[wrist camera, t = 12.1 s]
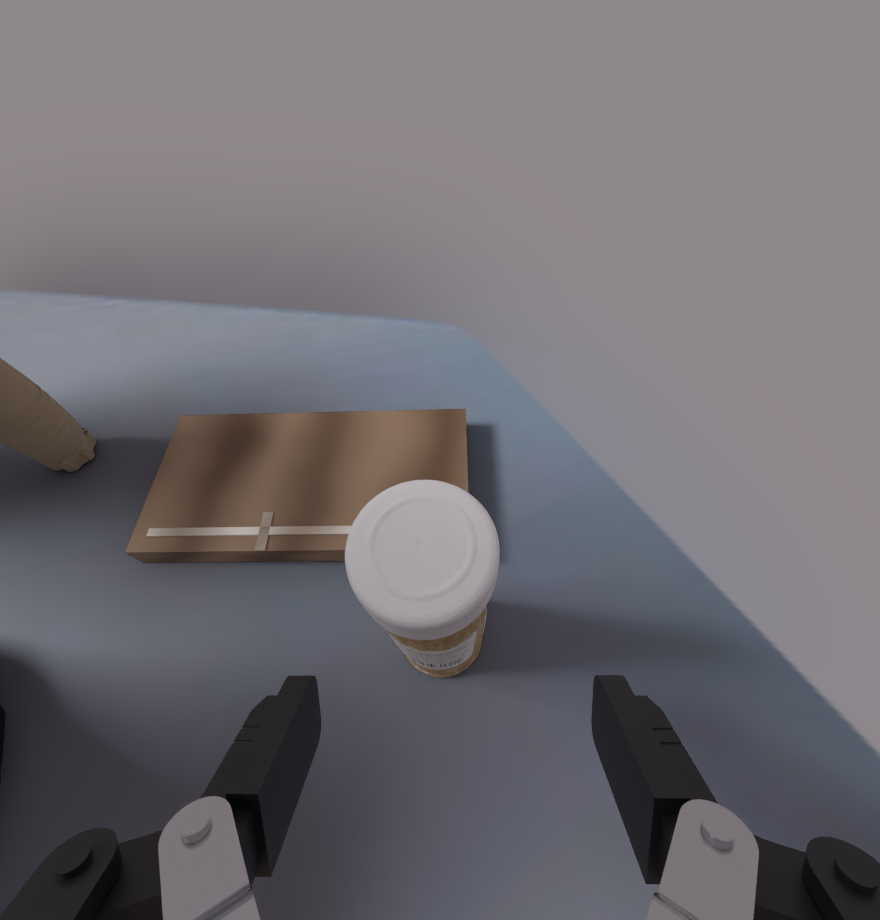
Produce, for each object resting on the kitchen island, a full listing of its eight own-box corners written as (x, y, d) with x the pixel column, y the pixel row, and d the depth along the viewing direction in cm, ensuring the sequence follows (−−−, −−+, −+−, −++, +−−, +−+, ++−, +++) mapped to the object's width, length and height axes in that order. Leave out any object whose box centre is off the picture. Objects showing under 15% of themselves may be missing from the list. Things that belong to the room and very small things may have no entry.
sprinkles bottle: (492, 607, 24) (520, 499, 13) (466, 694, 22) (472, 655, 11) (417, 580, 25) (381, 457, 14) (385, 660, 23) (311, 592, 12)
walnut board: (143, 562, 27) (123, 551, 25) (193, 430, 32) (179, 414, 30) (469, 559, 26) (470, 548, 24) (465, 424, 31) (465, 407, 30)
